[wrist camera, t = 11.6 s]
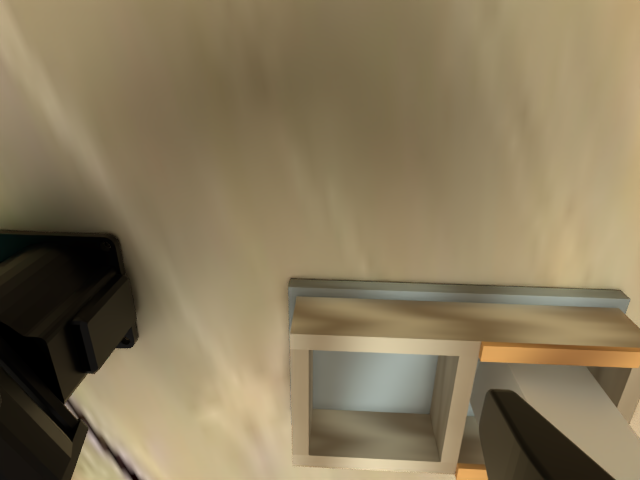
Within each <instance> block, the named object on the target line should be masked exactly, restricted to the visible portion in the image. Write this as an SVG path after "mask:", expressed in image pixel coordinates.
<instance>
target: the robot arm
mask: <svg viewBox="0 0 640 480" xmlns="http://www.w3.org/2000/svg"><path fill="white" fill-rule="evenodd" d="M104 242H107V243H108V244H110V246H111V248H109V247H107V246H105V244H104ZM136 319H137V317H136V312H135V307H134V302H133V296H132V291H131V286H130V281H129V278H128V277H127V276H126V274H125V269H124V264H123V259H122V254H121V248H120V243H119V241H118V239H117V238H116V237H115V236H113V235H111V234H101V233H68V232H36V231H4V230H0V480H71V478H72V475H73V472H74V469H75V466H76V463H77V460H78V457H79V455H80V452H81V449H82V446H83V443H84V440H85V437H86V434H87V431H88V426H87V425H86V424H85V423H84V422H83V421H82V420H81V419H77V418H76V417H75V416H74V415H73V414H72V413H71V412H70V411H69V410H68V409H67V407H66V406H65V405H64V404H65V402H66V401H67V400H68V398H69V397H70V396H71V395H72V393H73V392H74V391H75V389H76V388H77V387H78V386H79V384H80V383H81V382H82V380H83V379H84V378H85V376H86V375H87V374H95V373H96V372H97V371H98V370H99V369H100V368H101V367H102V365H103V364H104V363H105V361H106V360H107V359H108V357H109V356H110V354H111V353H112V352H113V350H114V349H115V348H131V347H133V346H134V344H135V343H136V341H137V340H138V335H137V330H136V325H135V321H136ZM125 337H127V338H128V339H129V340H127V339H126V338H125ZM479 437H480V442H481V447H482V452H483V457H484V462H485V467H486V472H487V477H488V480H616V479H615V478H613V477H612V476H611V475H610V474H609V473H608V472H607V471H605V470H604V469H603V468H602V467H601V466H600V465H599V464H597V463H596V462H595V461H594V460H593V459H592V458H590V457H589V456H588V455H587V454H586V453H585V452H584V451H582V450H581V449H580V448H579V447H578V446H577V445H576V444H574V443H573V442H572V441H571V440H570V439H569V438H568V437H566V436H565V435H564V434H563V433H562V432H561V431H559V430H558V429H557V428H556V427H555V426H554V425H553V424H551V423H550V422H549V421H548V420H547V419H546V418H545V417H543V416H542V415H541V414H540V413H539V412H538V411H536V410H535V409H534V408H533V407H532V406H531V405H530V404H528V403H527V402H526V401H525V400H524V399H523V398H522V397H520V396H519V395H518V394H517V393H516V392H514V391H512V390H509V389H489V390H488V391H487V392H486V395H485V399H484V403H483V408H482V412H481V417H480V421H479Z"/></svg>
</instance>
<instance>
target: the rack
mask: <svg viewBox="0 0 640 480" xmlns="http://www.w3.org/2000/svg"><path fill="white" fill-rule="evenodd" d="M288 296H289V342H290V388H291V425H292V465H293V466H303V467H322V468H341V469H360V470H379V471H398V472H417V473H436V474H455V476H456V480H488V477H487V472H486V467H485V462H484V457H483V452H482V447H481V442H480V437H479V427H478V424H477V421H476V418H475V416H474V413H473V410H472V407H471V404H470V397H471V392H472V387H473V382H474V377H475V372H476V370H477V367H478V365H479V362H502V363H526V364H550V365H574V366H586V367H587V369H588V370H589V371H590V373H591V374H592V375H593V377H594V378H595V379H596V381H597V382H598V383H599V385H600V386H601V387H602V389H603V390H604V391H605V393H606V394H607V395H608V397H609V398H610V399H611V401H612V402H613V403H614V405H615V406H616V408H617V409H618V410H619V412H620V413H621V414H622V416H623V417H624V418H625V420H626V421H627V422H628V424H630V421H631V419H632V417H633V414H634V412H635V409H636V407H637V404H638V402H639V399H640V328H639V327H638V326H637V325H636V324H635V323H633V322H632V321H631V320H630V319H629V318H628V317H627V316H626V315H625V313H626V311H627V308H628V305H629V302H630V298H629V297H628V296H626V295H625V294H624V293H623V292H622V291H621V290H596V289H567V288H538V287H510V286H481V285H452V284H423V283H394V282H365V281H336V280H307V279H290V282H289V286H288Z"/></svg>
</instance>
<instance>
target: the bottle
mask: <svg viewBox="0 0 640 480" xmlns="http://www.w3.org/2000/svg"><path fill="white" fill-rule="evenodd" d="M489 389H509V390H512V391H514V392H516V393H517V394H518V395H519V396H520V397H522V398H523V399H524V400H525V401H526V402H527V403H528V404H530V405H531V406H532V407H533V408H534V409H535V410H536V411H538V412H539V413H540V414H541V415H542V416H543V417H545V418H546V419H547V420H548V421H549V422H550V423H551V424H553V425H554V426H555V427H556V428H557V429H558V430H559V431H561V432H562V433H563V434H564V435H565V436H566V437H568V438H569V439H570V440H571V441H572V442H573V443H574V444H576V445H577V446H578V447H579V448H580V449H581V450H582V451H584V452H585V453H586V454H587V455H588V456H589V457H590V458H592V459H593V460H594V461H595V462H596V463H597V464H599V465H600V466H601V467H602V468H603V469H604V470H605V471H607V472H608V473H609V474H610V475H611V476H612V477H613V478H615V479H616V480H640V438H639V437H638V436H637V434H636V433H635V432H634V430H633V429H632V428H631V426H630V425H629V424H628V422H627V421H626V420H625V418H624V417H623V416H622V414H621V413H620V412H619V410H618V409H617V408H616V406H615V405H614V403H613V402H612V401H611V399H610V398H609V397H608V395H607V394H606V393H605V391H604V390H603V389H602V387H601V386H600V385H599V383H598V382H597V381H596V379H595V378H594V377H593V375H592V374H591V373H590V371H589V370H588V369H587V367H586V366H574V365H550V364H526V363H502V362H479V365H478V367H477V370H476V372H475V377H474V382H473V387H472V392H471V397H470V404H471V407H472V410H473V413H474V416H475V418H476V421H477V424H478V427H479V421H480V417H481V412H482V408H483V403H484V399H485V395H486V392H487V391H488V390H489Z"/></svg>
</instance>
